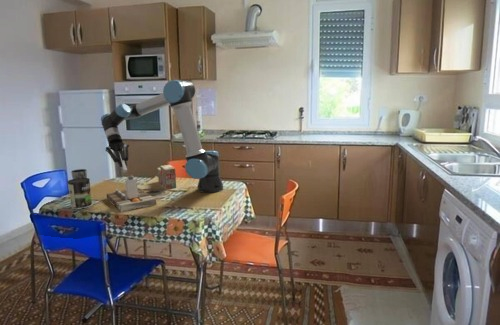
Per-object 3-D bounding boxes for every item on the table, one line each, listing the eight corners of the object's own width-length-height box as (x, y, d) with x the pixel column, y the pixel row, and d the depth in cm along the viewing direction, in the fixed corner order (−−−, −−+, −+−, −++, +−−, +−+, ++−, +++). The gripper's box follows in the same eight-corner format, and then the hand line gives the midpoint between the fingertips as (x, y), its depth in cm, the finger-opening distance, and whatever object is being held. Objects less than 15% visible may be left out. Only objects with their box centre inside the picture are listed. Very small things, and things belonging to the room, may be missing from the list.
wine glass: (92, 195, 211) (89, 170, 208) (78, 199, 206) (74, 172, 203) (86, 193, 217) (83, 168, 214) (72, 196, 211) (68, 170, 208)
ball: (140, 202, 193) (141, 198, 190) (137, 208, 191) (138, 204, 188) (133, 199, 193) (134, 195, 190) (130, 205, 190) (131, 201, 187)
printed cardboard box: (158, 181, 240) (156, 163, 237) (167, 180, 243) (166, 162, 240) (166, 189, 221) (164, 169, 219) (176, 187, 224) (175, 168, 221)
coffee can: (96, 203, 196) (93, 177, 194) (84, 209, 187) (81, 182, 184) (79, 202, 199) (76, 177, 196) (66, 208, 189) (63, 182, 186)
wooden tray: (106, 198, 204) (106, 191, 203) (138, 192, 214) (138, 185, 213) (121, 211, 182) (120, 203, 181) (156, 204, 192) (155, 196, 191)
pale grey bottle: (127, 197, 194) (125, 176, 192) (136, 195, 197) (134, 174, 194) (128, 199, 191) (126, 177, 189) (138, 197, 194) (136, 175, 192)
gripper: (124, 140, 215) (136, 173, 205) (101, 142, 208) (112, 176, 198) (126, 132, 210) (138, 165, 200) (102, 134, 202) (113, 168, 192)
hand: (125, 171), depth 199 cm, fingers closed
